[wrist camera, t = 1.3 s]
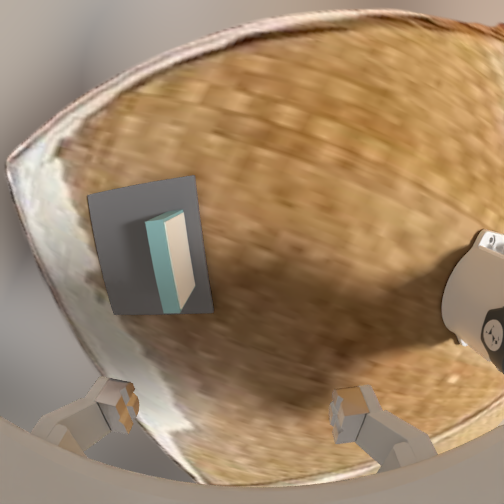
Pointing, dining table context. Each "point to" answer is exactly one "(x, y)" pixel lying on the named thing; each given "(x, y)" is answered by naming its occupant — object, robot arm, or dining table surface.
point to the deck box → (171, 259)
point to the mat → (146, 244)
